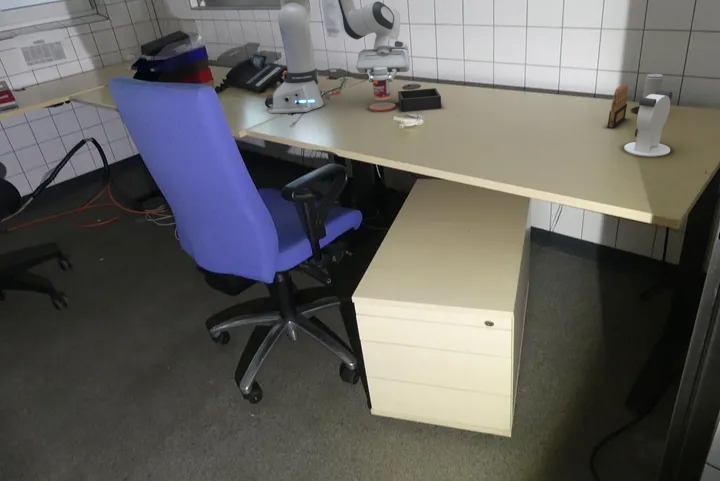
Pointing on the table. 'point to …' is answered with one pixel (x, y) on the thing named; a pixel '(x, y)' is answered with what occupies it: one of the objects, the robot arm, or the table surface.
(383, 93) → the pill bottle
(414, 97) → the black box
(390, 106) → the coaster
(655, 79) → the beverage can
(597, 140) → the table surface
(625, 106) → the brown panel in holder
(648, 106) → the white disc-based upright fixture
